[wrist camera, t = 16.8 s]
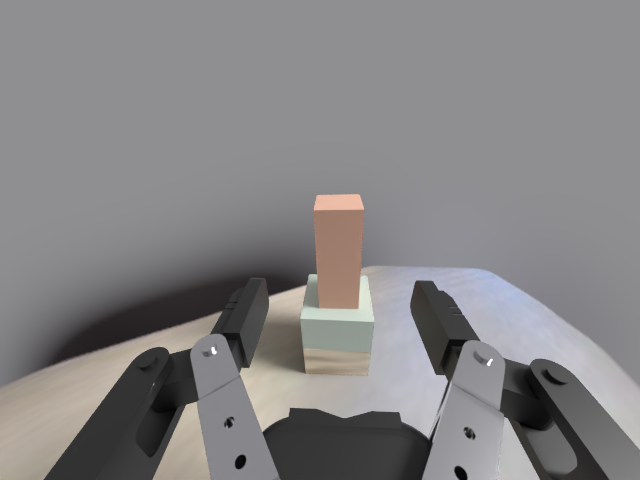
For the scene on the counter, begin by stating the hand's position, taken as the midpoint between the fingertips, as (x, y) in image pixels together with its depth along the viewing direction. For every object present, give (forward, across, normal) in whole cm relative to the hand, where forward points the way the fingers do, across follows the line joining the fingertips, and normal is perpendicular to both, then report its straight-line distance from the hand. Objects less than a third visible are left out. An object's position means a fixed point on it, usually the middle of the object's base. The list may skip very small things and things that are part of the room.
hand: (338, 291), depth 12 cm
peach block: (+12, 0, +11) cm, 16 cm away
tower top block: (+12, 0, +16) cm, 20 cm away
